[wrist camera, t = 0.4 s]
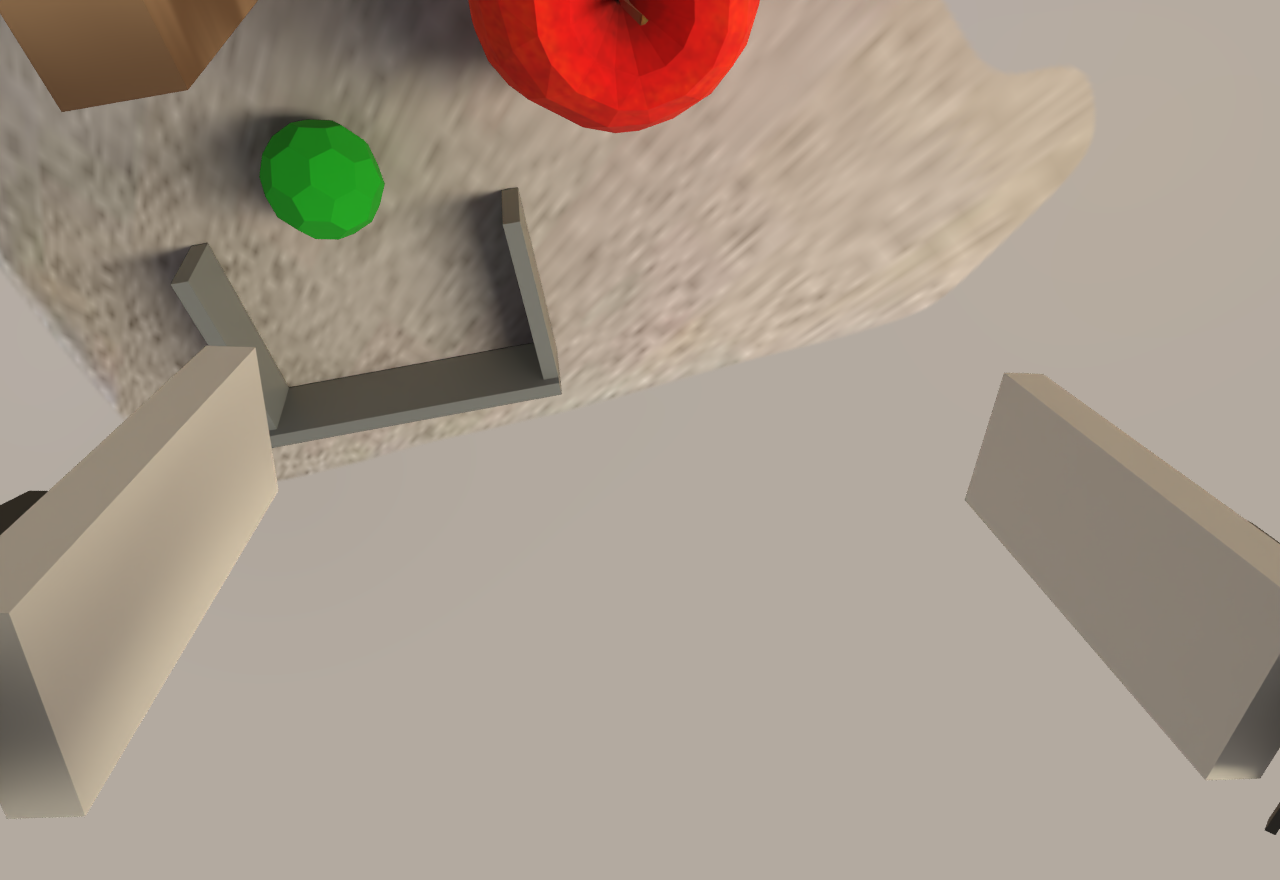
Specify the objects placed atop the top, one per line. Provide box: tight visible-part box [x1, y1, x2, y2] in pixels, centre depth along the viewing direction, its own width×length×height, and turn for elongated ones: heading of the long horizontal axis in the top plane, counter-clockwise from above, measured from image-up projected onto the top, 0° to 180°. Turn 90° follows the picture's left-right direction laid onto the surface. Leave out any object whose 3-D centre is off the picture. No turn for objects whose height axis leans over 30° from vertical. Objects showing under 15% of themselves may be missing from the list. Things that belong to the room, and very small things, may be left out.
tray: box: [170, 188, 562, 448], centre depth 40 cm, size 10×16×4 cm, turn 97°
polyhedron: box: [259, 119, 385, 239], centre depth 35 cm, size 5×5×5 cm
